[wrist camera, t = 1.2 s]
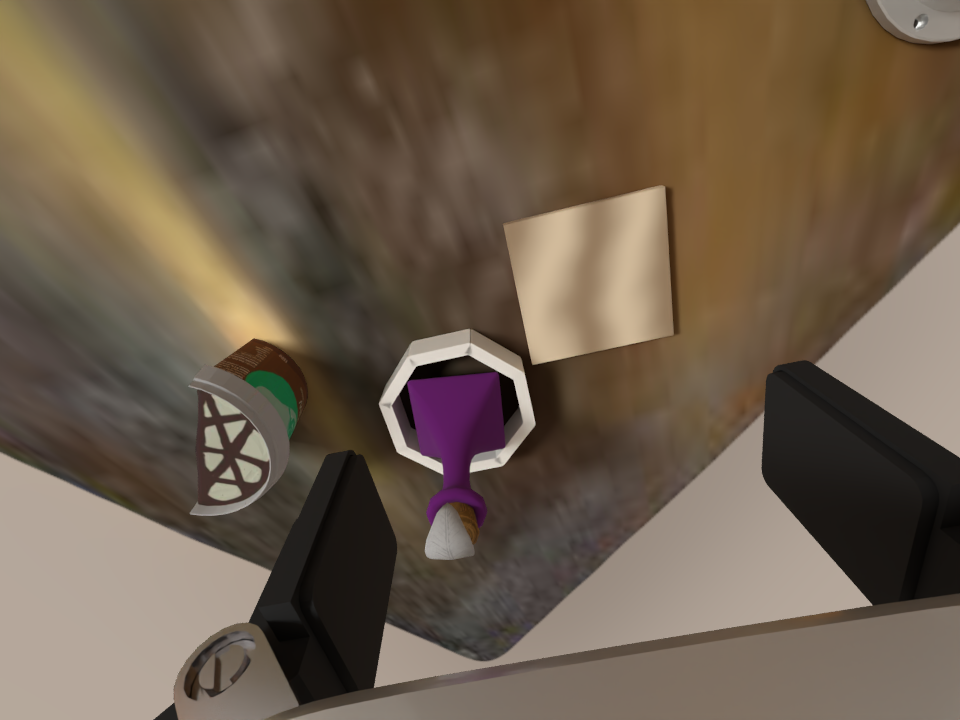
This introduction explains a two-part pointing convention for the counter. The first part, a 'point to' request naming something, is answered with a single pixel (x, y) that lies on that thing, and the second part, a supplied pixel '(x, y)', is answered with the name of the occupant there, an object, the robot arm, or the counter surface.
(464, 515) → the perfume bottle
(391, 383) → the holder ring
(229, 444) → the food container
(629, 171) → the counter surface
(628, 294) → the coaster board
